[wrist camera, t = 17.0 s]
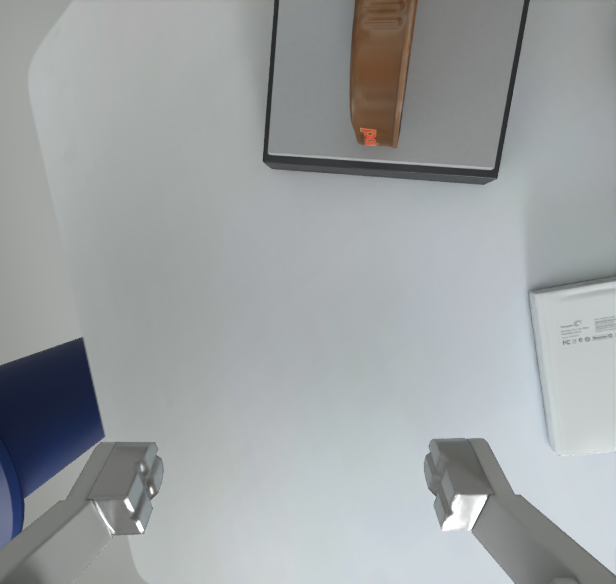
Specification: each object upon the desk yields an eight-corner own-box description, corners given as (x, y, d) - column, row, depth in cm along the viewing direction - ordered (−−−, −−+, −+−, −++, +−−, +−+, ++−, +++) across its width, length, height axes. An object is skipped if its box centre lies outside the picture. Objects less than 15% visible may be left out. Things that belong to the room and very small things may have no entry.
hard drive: (546, 444, 27) (526, 290, 26) (667, 433, 26) (652, 269, 24) (558, 457, 26) (536, 294, 24) (687, 446, 24) (672, 271, 23)
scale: (271, 168, 27) (259, 160, 24) (289, -72, 25) (279, -115, 22) (484, 185, 25) (501, 177, 22) (530, -77, 22) (556, -127, 19)
